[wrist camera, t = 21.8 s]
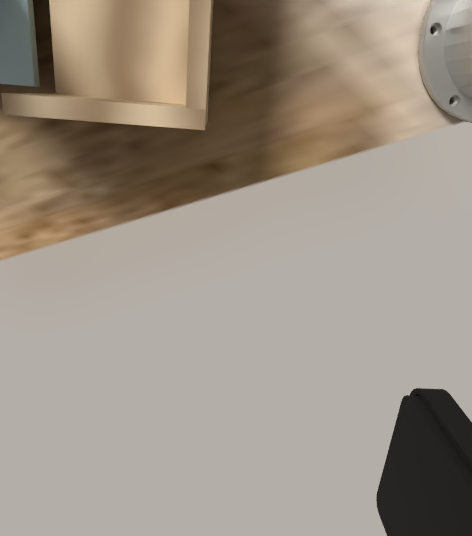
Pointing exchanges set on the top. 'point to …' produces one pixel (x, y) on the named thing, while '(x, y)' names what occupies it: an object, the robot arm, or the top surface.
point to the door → (18, 44)
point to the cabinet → (126, 64)
